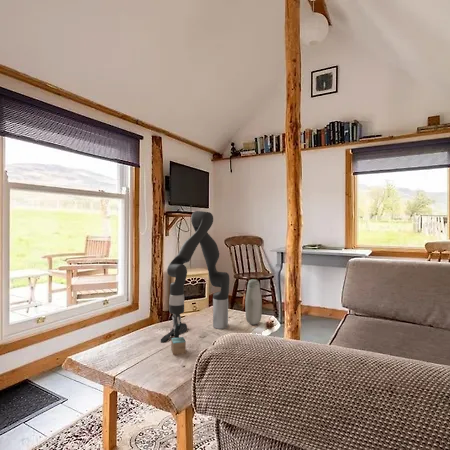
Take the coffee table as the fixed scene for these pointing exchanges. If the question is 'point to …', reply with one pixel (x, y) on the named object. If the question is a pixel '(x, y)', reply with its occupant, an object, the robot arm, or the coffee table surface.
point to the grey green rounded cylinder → (253, 302)
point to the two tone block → (178, 345)
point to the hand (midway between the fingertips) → (176, 337)
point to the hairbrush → (166, 337)
